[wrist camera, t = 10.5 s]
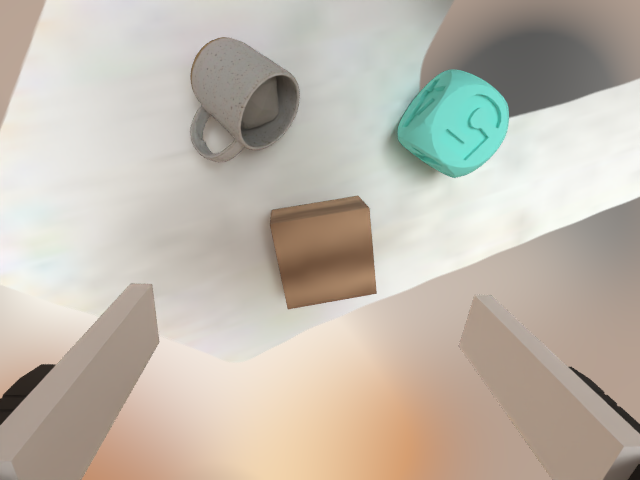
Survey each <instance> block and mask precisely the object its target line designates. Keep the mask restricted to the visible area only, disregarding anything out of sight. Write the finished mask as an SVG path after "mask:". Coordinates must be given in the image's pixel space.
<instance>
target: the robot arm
mask: <svg viewBox="0 0 640 480" xmlns="http://www.w3.org/2000/svg"><path fill="white" fill-rule="evenodd" d="M158 344H159V335H158V327H157V319H156V311H155V303H154V295H153V288H152V284H133V283H131V284H130V285H129V286H128V287H127V288H126V289H125V290H124V291H123V293H122V294H121V295H120V296H119V297H118V298H117V299H116V300H115V301H114V302H113V303H112V305H111V306H110V307H109V308H108V309H107V310H106V311H105V312H104V313H103V314H102V315H101V316H100V318H99V319H98V320H97V321H96V322H95V323H94V324H93V325H92V326H91V328H89V330H88V331H87V332H86V333H85V334H84V335H83V336H82V337H81V338H80V339H79V340H78V341H77V343H76V344H75V345H74V346H73V347H72V348H71V349H70V350H69V351H68V352H67V354H66V355H65V356H64V357H63V358H62V359H61V360H60V361H59V362H58V363H57V364H56V365H53V364H52V365H51V364H47V365H46V364H45V365H44V364H43V365H40V366H39V367H37V368H35V369H34V370H32V371H30V372H29V373H27V374H26V375H24V376H23V377H21V378H20V379H19V380H18V381H17V382H16V383H15V384H13V386H11V388H10V389H8V390H7V391H6V392H5V393H4V394H3V397H2V398H1V399H0V480H81V479H82V478H83V476H84V474H85V472H86V471H87V469H88V467H89V465H90V464H91V462H92V460H93V458H94V457H95V455H96V453H97V451H98V449H99V448H100V446H101V444H102V442H103V441H104V439H105V437H106V435H107V433H108V432H109V430H110V428H111V427H112V425H113V423H114V421H115V419H116V417H117V416H118V414H119V412H120V411H121V409H122V407H123V405H124V404H125V402H126V400H127V398H128V397H129V395H130V393H131V391H132V390H133V388H134V386H135V384H136V382H137V381H138V379H139V377H140V375H141V374H142V372H143V370H144V368H145V367H146V365H147V363H148V361H149V360H150V358H151V356H152V354H153V352H154V351H155V349H156V347H157V345H158ZM459 348H460V349H461V350H462V352H463V353H464V354H465V356H466V357H467V359H468V360H469V362H470V363H471V364H472V366H473V367H474V369H475V370H476V372H477V373H478V375H479V376H480V377H481V379H482V380H483V382H484V383H485V385H486V386H487V387H488V389H489V390H490V392H491V393H492V395H493V396H494V397H495V399H496V400H497V402H498V403H499V405H500V406H501V407H502V409H503V410H504V412H505V413H506V414H507V416H508V417H509V418H510V420H511V422H512V423H513V424H514V426H515V427H516V429H517V430H518V432H519V433H520V435H521V436H522V437H523V438H524V440H525V442H526V443H527V444H528V446H529V447H530V449H531V450H532V452H533V453H534V454H535V456H536V457H537V459H538V460H539V462H540V463H541V464H542V466H543V467H544V469H545V470H546V472H547V473H548V474H549V476H550V477H551V479H552V480H640V424H639V423H638V422H637V421H636V420H634V419H633V418H632V417H631V416H630V415H629V414H628V413H627V412H625V410H623V409H622V408H621V407H618V406H617V403H616V402H615V401H614V400H612V399H611V398H610V397H609V396H608V395H605V394H604V392H603V390H601V389H600V388H599V387H598V386H597V385H596V384H595V383H594V382H593V381H592V380H590V379H589V378H588V377H586V376H585V375H583V374H581V373H580V372H578V371H577V370H575V369H574V368H572V367H568V366H567V365H565V364H564V363H563V362H562V361H561V360H560V359H559V358H558V357H557V356H556V355H555V354H554V353H553V352H551V351H550V350H549V349H548V348H547V347H546V346H545V345H544V344H543V343H542V342H541V341H540V340H539V339H538V338H537V337H536V336H534V335H533V334H532V333H531V332H530V331H529V330H528V329H527V328H526V327H525V326H524V325H523V324H522V323H521V322H519V321H518V320H517V319H516V318H515V317H514V316H513V315H512V314H511V313H510V312H509V311H508V310H507V309H505V308H504V307H503V306H502V305H501V304H500V303H499V302H498V301H497V300H496V299H495V298H494V297H493V296H492V295H474V298H473V301H472V305H471V308H470V311H469V314H468V318H467V321H466V324H465V327H464V330H463V334H462V337H461V340H460V343H459Z"/></svg>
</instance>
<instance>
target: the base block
mask: <svg viewBox="0 0 640 480" xmlns="http://www.w3.org/2000/svg"><path fill="white" fill-rule="evenodd" d="M270 227H271V232H272V237H273V241H274V246H275V251H276V255H277V260H278V265H279V270H280V274H281V279H282V284H283V289H284V293H285V298H286V303H287V308H288V309H293V308H298V307H304V306H309V305H315V304H321V303H326V302H332V301H337V300H343V299H349V298H354V297H360V296H366V295H371V294H377V292H376V281H375V269H374V257H373V246H372V234H371V222H370V211H369V207H368V206H367V205H366V204H365V203H364V202H363V201H362V199H361V198H360V197H359V196H354V197H348V198H342V199H335V200H329V201H323V202H317V203H311V204H305V205H299V206H293V207H287V208H281V209H274V210H272V213H271V220H270Z"/></svg>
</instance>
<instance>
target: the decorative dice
mask: <svg viewBox="0 0 640 480" xmlns="http://www.w3.org/2000/svg"><path fill="white" fill-rule="evenodd" d="M508 123H509V110H508V105H507V102H506V101H505V99H504V97H503V96H502V95H501V94H500V93H499V92H498V91H497V90H496V89H495V88H494V87H493V86H491V85H490V84H489V83H487V82H486V81H484V80H482V79H481V78H479V77H477V76H475V75H473V74H470V73H468V72H465V71H461V70H447V71H444V72H442V73H441V74H439V75H437V76H436V77H435V78H434V79H432V80H431V81H430V82H429V83H428V84H427V85H426V86H425V87H424V88H423V89H422V90H421V91H420V92H419V94H418V95H417V96H416V97H415V99H414V100H413V101H412V103H411V104H410V105H409V107H408V108H407V110H406V111H405V113H404V115H403V117H402V119H401V121H400V123H399V126H398V140H399V142H400V143H401V144H402V145H403V146H404V147H405V148H406V149H407V150H408V151H410V152H411V153H412V154H414V155H415V156H416V157H418V158H419V159H420V160H422V161H423V162H425V163H426V164H428V165H429V166H431V167H433V168H434V169H436V170H438V171H439V172H441V173H443V174H445V175H447V176H450V177H453V178H456V177H460V176H464V175H467V174H469V173H471V172H473V171H474V170H476V169H478V168H479V167H480V166H482V165H483V164H484V163H485V162H486V161H487V160H488V159H489V158H490V157H491V156H492V155H493V154H494V153H495V152H496V151H497V149H498V148H499V147H500V145H501V143H502V142H503V140H504V138H505V136H506V133H507V129H508Z"/></svg>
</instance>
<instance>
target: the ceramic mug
mask: <svg viewBox="0 0 640 480" xmlns="http://www.w3.org/2000/svg"><path fill="white" fill-rule="evenodd" d="M191 84H192V89H193V92H194V94H195V96H196V97H197V99H198V100H199V102H200V103H201V107H200V108H199V109H198V111H197V112H196V114H195V116H194V118H193V121H192V125H191V140H192V143H193V145H194V147H195V149H196V150H197V151H198V152H199V154H200V155H201V156H203V157H204V158H206V159H209V160H212V161H215V162H225V161H228V160H230V159H232V158H234V157H235V156H236V155H237V154H238V153H239V152H241V150H242V149H243V148H244V147H246V148H248V149H251V150H260V149H264V148H266V147H268V146H270V145H272V144H273V143H275V142H276V141H277V140H279V139H280V138H281V137H282V136H283V135H284V134H285V132H286V131H287V130H288V128H289V127H290V126H291V124H292V122H293V120H294V118H295V116H296V113H297V110H298V105H299V98H300V93H299V87H298V84H297V81H296V79H295V78H294V77H293V76H292V74H291V73H289V72H288V71H287V70H285V69H283V68H282V67H280V66H279V65H277V64H276V63H274V62H273V61H271V60H270V59H268V58H267V57H265V56H263V55H262V54H260V53H259V52H257V51H256V50H254V49H253V48H251V47H250V46H248V45H247V44H245V43H243V42H240V41H238V40H235V39H232V38H226V37H222V38H218V39H215V40H212V41H210V42H209V43H207V44H206V45H205V46H203V48H202V49H201V50H200V51H199V53H198V54H197V56H196V57H195V60H194V62H193V65H192V69H191ZM210 115H212V116H213V117H214V118H215V119H216V120H217V121H218V122H219V123H220V124H221V125H222V126H223V127H224V128H225V129H226V130H227V131H228V132H229V133H230V134H231V135H232V136H234V141H233V143H232V144H231V145H229V146H228V147H227V148H226V149H225V150H223V151H222V152H220V153H217V154H213V153H212V152H211V151H210V150H209V149H208V147H207V146H206V143H205V141H204V140H203V139H202V136H203V129H204V127H205V123H206V122H207V120H208V118H209V117H210Z"/></svg>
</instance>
